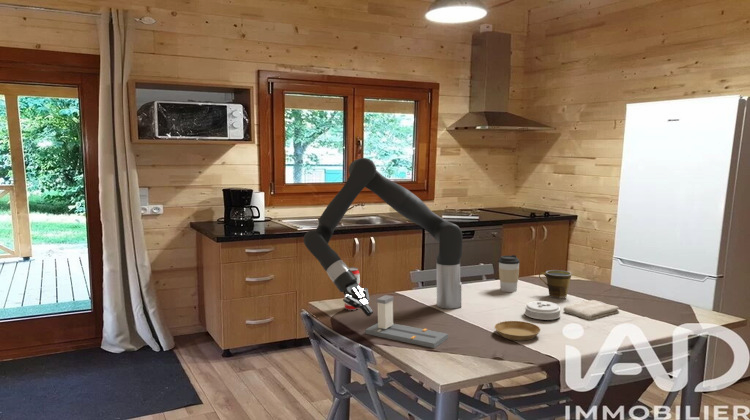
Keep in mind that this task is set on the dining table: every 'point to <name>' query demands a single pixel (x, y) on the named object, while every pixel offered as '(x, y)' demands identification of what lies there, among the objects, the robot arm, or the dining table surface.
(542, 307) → the lid
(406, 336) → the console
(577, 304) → the washcloth
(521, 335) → the plant saucer
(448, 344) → the dining table surface
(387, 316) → the fader tab
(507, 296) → the dining table surface
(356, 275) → the beer can
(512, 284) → the coffee cup
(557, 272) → the ceramic cup
